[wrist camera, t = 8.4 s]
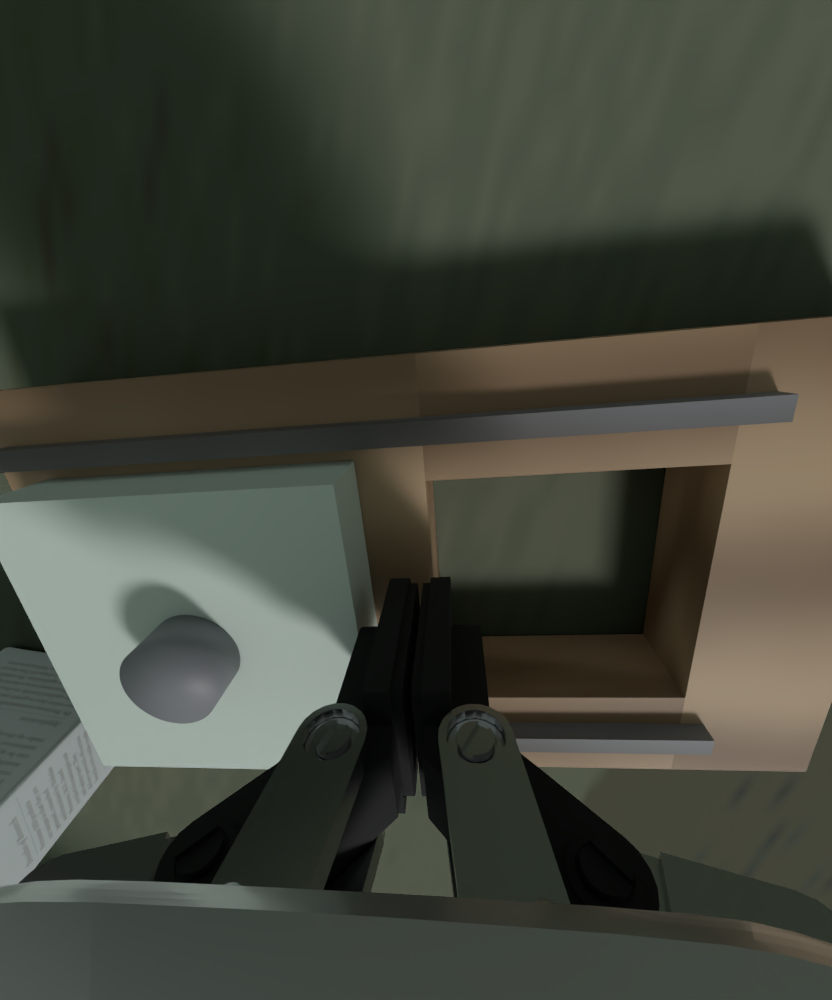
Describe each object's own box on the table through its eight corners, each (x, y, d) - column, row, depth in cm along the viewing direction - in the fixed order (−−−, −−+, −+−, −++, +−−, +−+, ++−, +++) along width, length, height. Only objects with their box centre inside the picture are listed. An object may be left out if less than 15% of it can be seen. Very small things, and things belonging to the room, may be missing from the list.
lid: (390, 714, 14) (373, 815, 11) (147, 712, 15) (71, 805, 12) (353, 460, 11) (316, 505, 8) (48, 478, 12) (-91, 525, 9)
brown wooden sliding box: (744, 697, 16) (821, 790, 13) (183, 697, 19) (125, 774, 15) (846, 314, 11) (1015, 301, 8) (65, 383, 14) (-59, 395, 10)
